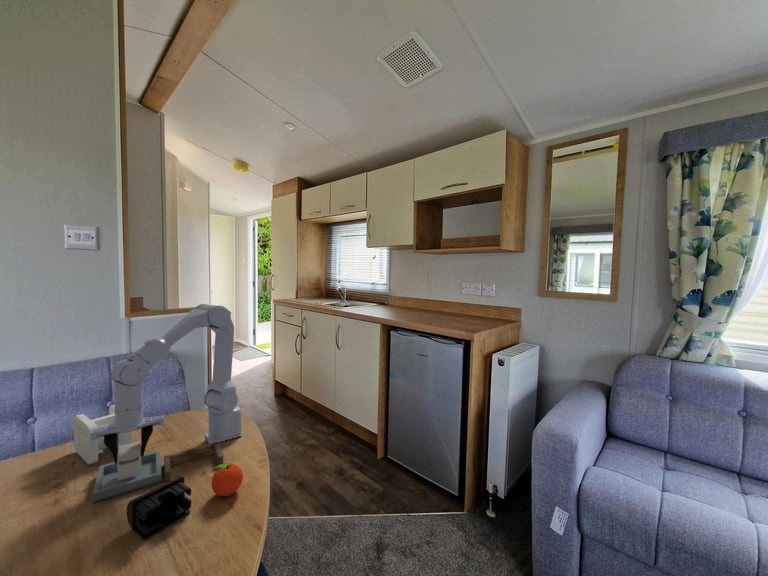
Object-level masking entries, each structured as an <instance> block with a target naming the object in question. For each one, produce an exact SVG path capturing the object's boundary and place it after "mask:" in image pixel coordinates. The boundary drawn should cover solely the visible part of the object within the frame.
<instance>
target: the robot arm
mask: <svg viewBox="0 0 768 576" xmlns="http://www.w3.org/2000/svg"><path fill="white" fill-rule="evenodd" d="M199 328H208V329H210V330H211V331H212V332H214V334H215V336H214V337H215V338H214V351H213V363H212V364H213V366H212V381H210V383H208V384H207V389H206V392H205V395H204V396H203V404H204V405H205V406H207V410H208V432H206V433H205V437H206V440H207V443H208V444H211V443H215V442H219V443H223V442H226V441H225V440H227V441H229V440H228V439H230V440H232V439H231V438H234V439H236V438H235V437H238V438H240V437H239V436H241V435H242V414H241V409H240V406H237V405H238V402H239V397H238V394H237V387H236V385H235V384H234V383H233V381H232V369H233V353H234V352H233V351H234V339H235V325H234V323H233V321H232V312H231V311H230V310H229V309H228V308H227V307H225V306H223V305H215V304H214V305H213V304H207V303H201V304H199V305H196V307H194V308H193V309H190V311H189V312H188V313H187V315H186V316H185V317H183V318H182V319H181V320H180V321H178V323H177V324H175V325H174V326H173V327H172V328H171V329H170V330H168V331H167V332H166V333H165V334H163V336H161V338H160V337H157V338H156V337H154V338H151V339H147V340H145V341H144V342H143V344H144V345H143V346H142V347H140V348H139V349H137V350H136V351H135V352H134V353H130V354H128V356H126V359H122V360H120V361H117V362H116V363H115V364H114V365H113V367H112V369H111V370H110V372H109V373H108V374H109V377H110V379H111V380H112V381H114V393H113V394H114V397H113V399H114V405H115V424H111V425H108V426H105V427H101V428H98V429H93V430H92V431H91V440H96V439H97V438H100V437H104V444H105V445H106V446H107V449H108V451H109V452H110V453H111V456H112V457H113V461H114V462H115V464H116V463H117V456H118V450H119V447H118V434H119V433H127V432H132V433H133V432H134V431H136V430H140V429H141V430H140V441H141V457H143V456H144V454H145V451H146V447H147V444H148V443H149V441H150V437H151V436H152V435H153V431H154V427H155V426H164V424H165V422H164V421H165V418H164V416H165V415H163V414H162V415H156V416H145V417H144V385H143V384H144V383H143V381H144V380H146V378H147V376H148V373H149V371H150V370H151V369H152V368H153V367H154V366H156V365H157V364H158V363H159V362H160V361H162V360H163V359H164V358H166V356H167V355H169V354H170V353H171V347H172V346H173V345H174V344H176V343H177V342H179V341H180V340H181V339H182V338H184V337H185V336H187V335H188V334H189V333H191V332H192V331H193V330H195V329H199ZM241 437H242V436H241ZM222 441H223V442H222ZM114 462H113V463H114Z"/></svg>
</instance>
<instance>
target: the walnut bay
mask: <svg viewBox="0 0 768 576" xmlns="http://www.w3.org/2000/svg"><path fill="white" fill-rule="evenodd" d="M213 452H214V453H213ZM210 453H211V454H213V455H214V454H215V455H214V458H215V460H216V463H217V466H218V465H221V464H224V454H223V452H222V450H221V447H220V444H219V443H218V442H215V443H211V444H209V443H208V444H204V445H200V446H196V447H194V448H193V447H192V448H190V449H186V450H182V451H178V452H175V453H170V454H167V455H163V468H164V481H165V483H164V484H166V483H168V482H170V481H172V469H171V468H172V467H171V466H172V465H176V464H180V463H183V462H187V461H190V460H194V459H197V458H200V456H201V457H204V456H207V455H206V454H208V455H211V454H210ZM203 455H204V456H203Z"/></svg>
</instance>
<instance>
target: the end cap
mask: <svg viewBox="0 0 768 576" xmlns="http://www.w3.org/2000/svg"><path fill="white" fill-rule="evenodd" d="M187 495H188V496H191V495H192V489H191V487H189V486H188V485H186V483H185V477H184V476H177V477H176V478H174V479H171V481H169V482H166V483H164V484H162V485H160V486H158V487H156V488H154V489H152V490H150V491H147V492H145V493H143V494H141V495H139V496H137V497H135V498H133V499H132V500H129V501H128V503H127V505H126V517H127V522H128V523H127V524H128V525H129V528H130V529H131V530H132V532H134V533H135V534H136V535H137V536H138V537H139V538H140V539H141V540H142V541H147V540H149V539H151V538H153V537H154V536H155V535H157V534H159V533H161V532H162V531H163V530H166V529H167V528H168V527H170V526H172V525H173V524H176V523H177V522H179V521H180V520H182V519H184V518H186V517H187V516H189V515H190V514H191V508H192V502H193V501H192V500H191V499H190V498H189V497H188V496H187Z"/></svg>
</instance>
